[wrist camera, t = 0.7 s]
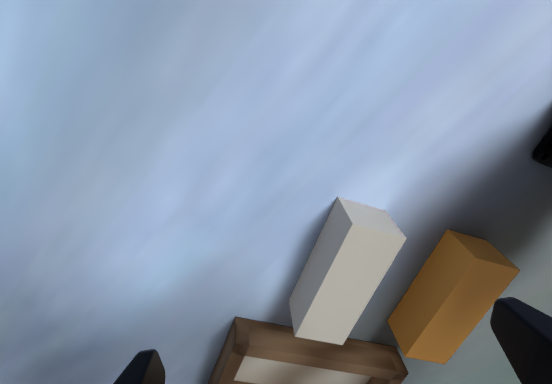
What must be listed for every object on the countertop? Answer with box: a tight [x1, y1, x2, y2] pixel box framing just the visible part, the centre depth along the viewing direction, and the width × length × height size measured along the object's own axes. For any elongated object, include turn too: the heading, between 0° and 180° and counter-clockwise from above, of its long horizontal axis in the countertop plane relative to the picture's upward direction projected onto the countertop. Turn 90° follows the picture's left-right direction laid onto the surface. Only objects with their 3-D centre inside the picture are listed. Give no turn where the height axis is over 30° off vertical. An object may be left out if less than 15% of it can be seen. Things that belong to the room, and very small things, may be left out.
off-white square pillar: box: [289, 197, 407, 345], centre depth 23 cm, size 9×4×4 cm, turn 160°
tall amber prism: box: [387, 229, 520, 364], centre depth 25 cm, size 9×4×4 cm, turn 160°
